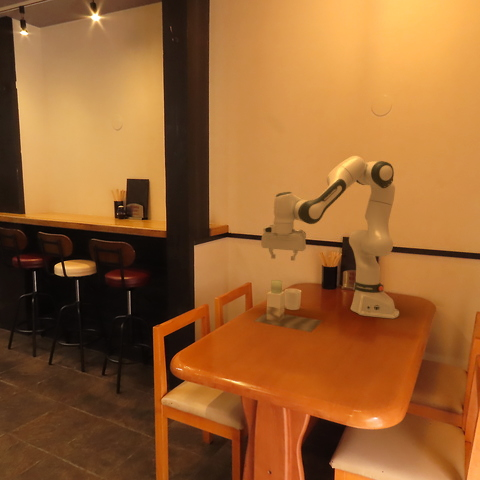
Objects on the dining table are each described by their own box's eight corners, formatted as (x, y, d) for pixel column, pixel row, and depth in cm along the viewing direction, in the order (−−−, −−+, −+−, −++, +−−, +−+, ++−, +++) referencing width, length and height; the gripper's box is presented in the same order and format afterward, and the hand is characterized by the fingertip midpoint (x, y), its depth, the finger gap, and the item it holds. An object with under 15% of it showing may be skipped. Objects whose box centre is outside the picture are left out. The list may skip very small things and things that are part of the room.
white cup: (300, 308, 205) (300, 288, 203) (300, 313, 197) (301, 293, 195) (283, 307, 205) (284, 288, 204) (284, 312, 198) (284, 292, 196)
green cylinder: (283, 291, 184) (283, 280, 183) (279, 294, 180) (279, 283, 179) (273, 290, 186) (273, 279, 185) (269, 292, 182) (269, 281, 181)
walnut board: (322, 323, 183) (322, 320, 183) (311, 335, 169) (311, 332, 169) (267, 314, 195) (268, 311, 195) (253, 324, 181) (253, 321, 181)
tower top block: (284, 304, 185) (285, 291, 184) (279, 308, 180) (280, 294, 179) (272, 302, 188) (272, 289, 187) (266, 306, 182) (267, 292, 182)
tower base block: (284, 317, 186) (284, 304, 185) (279, 321, 181) (279, 308, 180) (271, 315, 189) (272, 302, 188) (266, 319, 183) (266, 306, 182)
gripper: (308, 229, 183) (307, 260, 185) (265, 226, 192) (265, 256, 194) (303, 230, 178) (303, 262, 180) (259, 228, 187) (259, 258, 189)
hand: (283, 259), depth 187 cm, fingers open, 8 cm apart
